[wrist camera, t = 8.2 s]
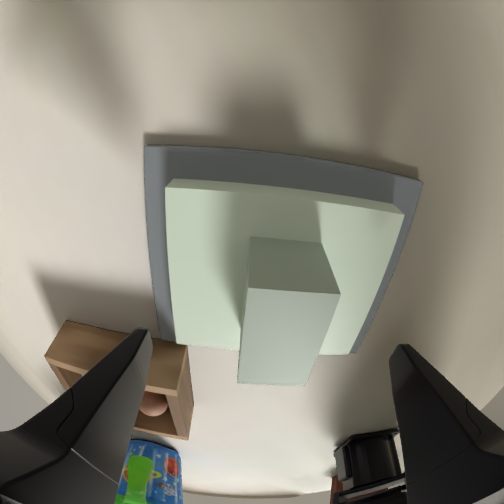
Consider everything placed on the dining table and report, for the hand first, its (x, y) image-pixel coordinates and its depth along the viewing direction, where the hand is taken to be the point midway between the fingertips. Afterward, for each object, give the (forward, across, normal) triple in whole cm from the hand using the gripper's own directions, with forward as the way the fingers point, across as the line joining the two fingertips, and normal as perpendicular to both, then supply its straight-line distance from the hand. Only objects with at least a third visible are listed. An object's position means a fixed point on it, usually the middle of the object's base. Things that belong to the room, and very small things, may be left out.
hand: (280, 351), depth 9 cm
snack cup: (+5, +11, +30) cm, 32 cm away
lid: (+5, 0, 0) cm, 5 cm away
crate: (+5, +9, +10) cm, 14 cm away
